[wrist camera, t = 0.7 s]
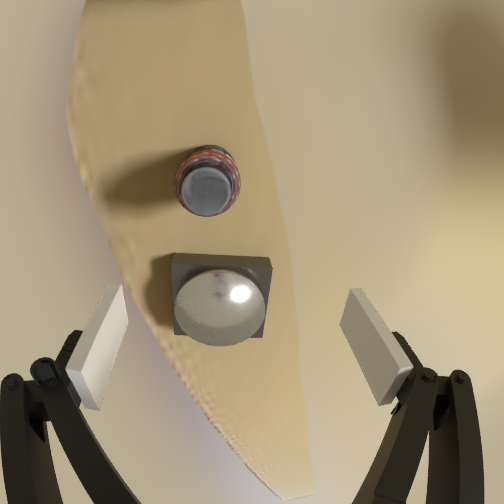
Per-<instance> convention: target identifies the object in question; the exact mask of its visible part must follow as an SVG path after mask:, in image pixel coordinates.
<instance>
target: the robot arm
mask: <svg viewBox="0 0 504 504" xmlns="http://www.w3.org/2000/svg"><path fill="white" fill-rule="evenodd" d="M127 325H128V318H127V312H126V308H125V302H124V296H123V290H122V285H121V284H112V283H109V285H108V287H107V288H106V290H105V292H104V293H103V295H102V297H101V299H100V301H99V302H98V305H97V306H96V308H95V310H94V312H93V314H92V316H91V317H90V319H89V321H88V323H87V325H86V327H85V329H84V331H79V330H74V331H73V332H72V333H71V334H70V335H69V336H68V338H67V339H66V341H65V343H64V345H63V347H62V349H61V351H60V353H59V355H58V356H57V358H56V360H55V361H54V360H53V359H51V358H47V357H44V358H39V359H38V360H36V361H35V362H34V363H33V364H32V365H31V368H30V373H31V375H32V377H33V379H34V380H30V381H24V380H23V378H22V377H21V376H20V375H18V374H16V373H14V374H13V373H12V374H9V375H7V376H6V377H4V379H3V380H2V383H1V390H0V441H1V457H2V467H3V476H4V482H5V489H6V495H7V501H8V504H63V501H62V498H61V494H60V490H59V486H58V483H57V478H56V474H55V470H54V465H53V460H52V456H51V450H50V445H49V438H48V431H47V424H46V421H51V422H52V425H53V427H54V430H55V432H56V434H57V436H58V439H59V441H60V443H61V445H62V447H63V449H64V451H65V453H66V455H67V457H68V459H69V461H70V463H71V465H72V467H73V469H74V470H75V472H76V474H77V476H78V478H79V479H80V481H81V483H82V485H83V486H84V488H85V490H86V491H87V493H88V495H89V496H90V498H91V499H92V501H93V502H94V504H141V502H140V501H139V500H138V499H137V498H136V496H135V495H134V494H133V493H132V491H131V490H130V488H129V487H128V486H127V484H126V483H125V482H124V480H123V479H122V478H121V476H120V475H119V473H118V472H117V470H116V469H115V467H114V466H113V464H112V463H111V461H110V460H109V458H108V457H107V455H106V454H105V452H104V450H103V449H102V447H101V446H100V444H99V442H98V441H97V439H96V438H95V436H94V434H93V432H92V430H91V429H90V427H89V425H88V423H87V421H86V420H85V418H84V416H83V414H82V412H81V410H80V409H79V406H80V403H81V401H82V403H83V405H84V407H85V408H88V409H93V410H98V411H99V410H100V408H101V404H102V401H103V397H104V394H105V391H106V387H107V384H108V381H109V378H110V375H111V372H112V368H113V366H114V362H115V359H116V357H117V354H118V350H119V348H120V345H121V342H122V339H123V336H124V334H125V331H126V328H127ZM340 326H341V328H342V331H343V333H344V334H345V336H346V339H347V341H348V343H349V345H350V347H351V349H352V351H353V353H354V355H355V357H356V359H357V361H358V363H359V365H360V367H361V369H362V372H363V374H364V376H365V378H366V380H367V382H368V384H369V386H370V388H371V391H372V393H373V395H374V397H375V399H376V401H377V404H378V406H381V405H386V404H390V403H392V401H393V399H394V398H395V397H397V399H398V401H399V402H398V403H397V405H396V406H395V408H394V409H393V411H392V412H391V414H393V415H392V418H391V421H390V423H389V426H388V428H387V431H386V433H385V436H384V438H383V441H382V443H381V445H380V448H379V450H378V452H377V455H376V457H375V459H374V461H373V463H372V465H371V467H370V470H369V472H368V474H367V476H366V478H365V480H364V482H363V484H362V486H361V488H360V490H359V492H358V493H357V495H356V497H355V499H354V501H353V502H352V504H406V499H407V497H408V494H409V491H410V489H411V486H412V483H413V480H414V478H415V475H416V472H417V469H418V466H419V462H420V460H421V456H422V453H423V449H424V446H425V443H426V439H427V435H428V431H429V467H428V484H427V496H426V504H484V469H483V455H482V445H481V436H480V428H479V422H478V416H477V409H476V403H475V398H474V393H473V388H472V383H471V379H470V377H469V376H468V374H466V373H465V372H464V371H462V370H454V371H453V372H452V373H451V375H450V376H449V377H445V376H438V375H437V373H436V372H435V371H434V370H432V369H430V368H426V367H425V368H424V367H423V365H422V364H421V362H420V361H419V359H418V358H417V356H416V355H415V353H414V352H413V350H411V347H410V346H409V345H408V343H407V342H406V340H405V339H404V337H403V336H402V335H400V334H399V333H398V332H391V331H390V329H389V328H388V326H387V325H386V324H385V322H384V320H383V319H382V317H381V316H380V314H379V313H378V312H377V310H376V309H375V307H374V306H373V304H372V303H371V301H370V300H369V299H368V297H367V296H366V294H365V293H364V291H363V290H362V289H361V288H359V289H358V288H356V289H350V291H349V295H348V298H347V302H346V305H345V309H344V312H343V316H342V319H341V322H340Z"/></svg>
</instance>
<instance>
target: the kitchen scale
mask: <svg viewBox="0 0 504 504" xmlns="http://www.w3.org/2000/svg"><path fill="white" fill-rule="evenodd" d="M272 269H273V268H272V265H271V262H270V259H269V257H249V256H228V255H207V254H187V253H174V255H173V258H172V262H171V285H172V306H173V323H174V335H188V336H189V337H191V338H192V339H194V340H196V341H198V342H200V343H203V344H207V345H211V346H229V345H234V344H237V343H240V342H242V341H244V340H246V339H248V338H262V336H263V329H264V323H265V316H266V310H267V303H268V296H269V290H270V283H271V276H272Z"/></svg>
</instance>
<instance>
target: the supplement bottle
mask: <svg viewBox="0 0 504 504" xmlns="http://www.w3.org/2000/svg"><path fill="white" fill-rule="evenodd" d="M240 183H241V182H240V175H239V172H238V169H237V167H236V164H235V161H234V159H233V158H232V156H231V155H230V154H229V153H228V152H227V151H226V150H225V149H223V148H221V147H219V146H215V145H205V146H201V147H199V148H197V149H195V150H194V151H193V152H192V153H190V154H189V155H188V157H187V158H186V159H185V160H184V161H183V162H182V163H181V165H180V166H179V168H178V170H177V172H176V175H175V179H174V190H175V194H176V197H177V199H178V200H179V202H180V203H181V205H182V206H183V207H184V208H185V209H186V210H188V211H189V212H191V213H193V214H195V215H198V216H203V217H211V216H216V215H219V214H221V213H223V212H225V211H227V210H228V209H229V208H230V207H231V206H232V205H233V204H234V202H235V201H236V199H237V197H238V195H239V191H240Z"/></svg>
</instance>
